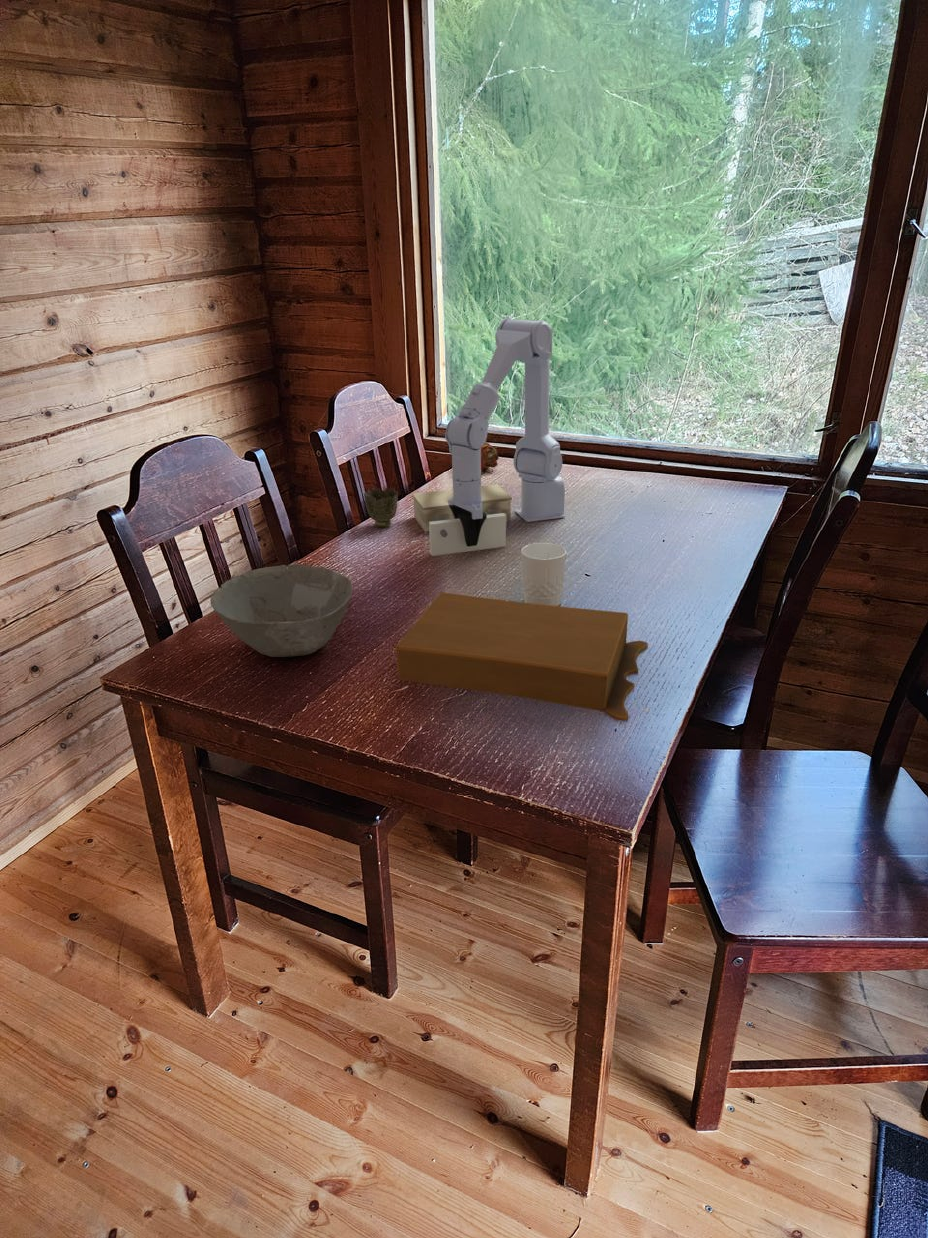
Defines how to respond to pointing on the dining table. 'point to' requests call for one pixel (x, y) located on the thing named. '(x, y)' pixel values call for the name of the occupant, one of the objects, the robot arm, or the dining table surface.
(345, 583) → the ceramic bowl
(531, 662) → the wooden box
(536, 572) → the white cup
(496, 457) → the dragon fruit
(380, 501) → the cup
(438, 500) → the cabinet
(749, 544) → the dining table surface
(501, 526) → the door
